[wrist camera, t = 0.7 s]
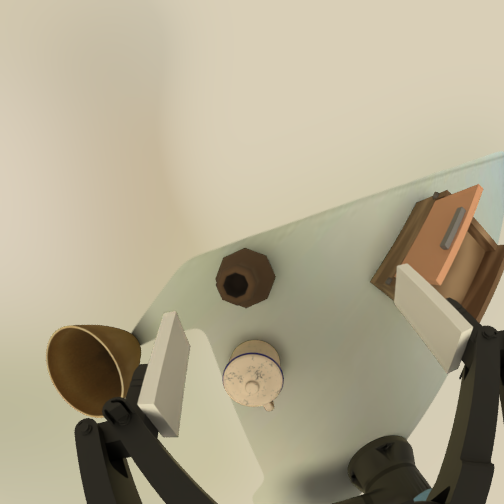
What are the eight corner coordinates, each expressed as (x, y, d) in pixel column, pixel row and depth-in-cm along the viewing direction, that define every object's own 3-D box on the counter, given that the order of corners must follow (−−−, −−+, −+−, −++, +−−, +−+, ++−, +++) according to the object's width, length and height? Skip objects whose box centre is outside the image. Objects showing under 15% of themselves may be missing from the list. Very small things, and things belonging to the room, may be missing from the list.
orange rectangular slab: (439, 204, 40) (483, 189, 28) (398, 280, 40) (440, 285, 28) (431, 197, 40) (475, 180, 28) (390, 273, 40) (431, 276, 28)
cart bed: (467, 251, 47) (511, 248, 33) (426, 327, 47) (468, 343, 33) (414, 200, 48) (454, 183, 34) (367, 280, 48) (402, 285, 34)
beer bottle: (283, 273, 49) (299, 283, 25) (251, 306, 49) (238, 346, 25) (249, 241, 49) (233, 222, 25) (218, 275, 49) (175, 286, 25)
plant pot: (133, 396, 49) (95, 432, 33) (84, 343, 50) (35, 364, 34) (175, 350, 49) (141, 383, 33) (120, 294, 50) (69, 304, 34)
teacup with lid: (221, 348, 49) (208, 372, 37) (269, 330, 49) (269, 350, 37) (248, 403, 48) (243, 437, 37) (294, 387, 48) (301, 418, 36)
